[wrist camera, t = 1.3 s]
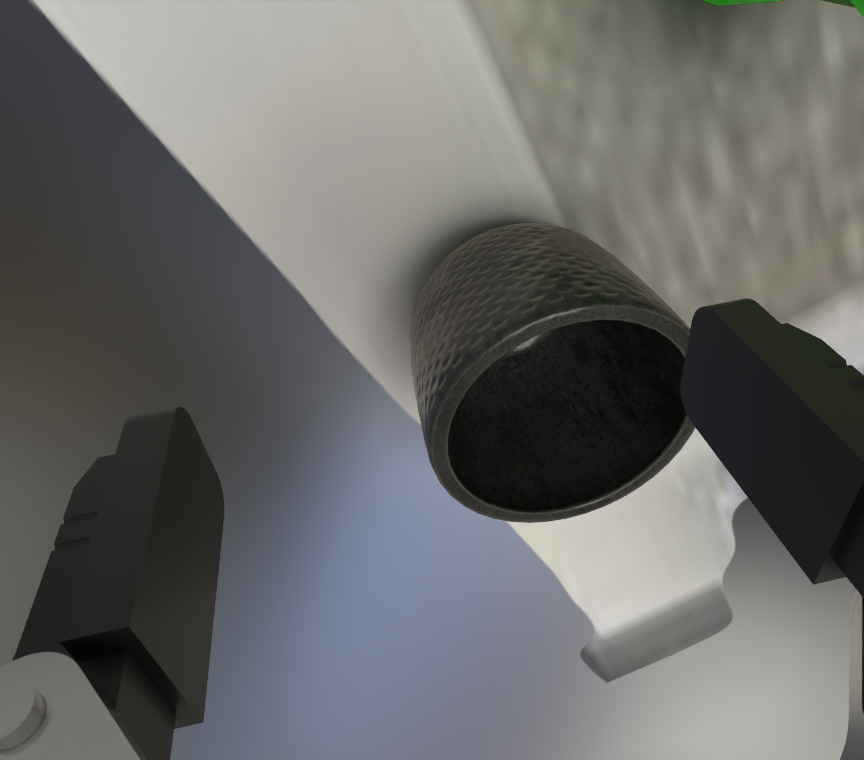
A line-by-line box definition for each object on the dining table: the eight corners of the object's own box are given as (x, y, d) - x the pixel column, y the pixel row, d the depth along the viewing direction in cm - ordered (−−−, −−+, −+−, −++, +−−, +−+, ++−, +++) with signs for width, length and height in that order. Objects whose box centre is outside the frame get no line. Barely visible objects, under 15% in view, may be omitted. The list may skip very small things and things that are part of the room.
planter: (611, 344, 44) (707, 478, 34) (423, 404, 45) (463, 554, 35) (596, 154, 36) (718, 259, 26) (361, 229, 36) (391, 363, 26)
